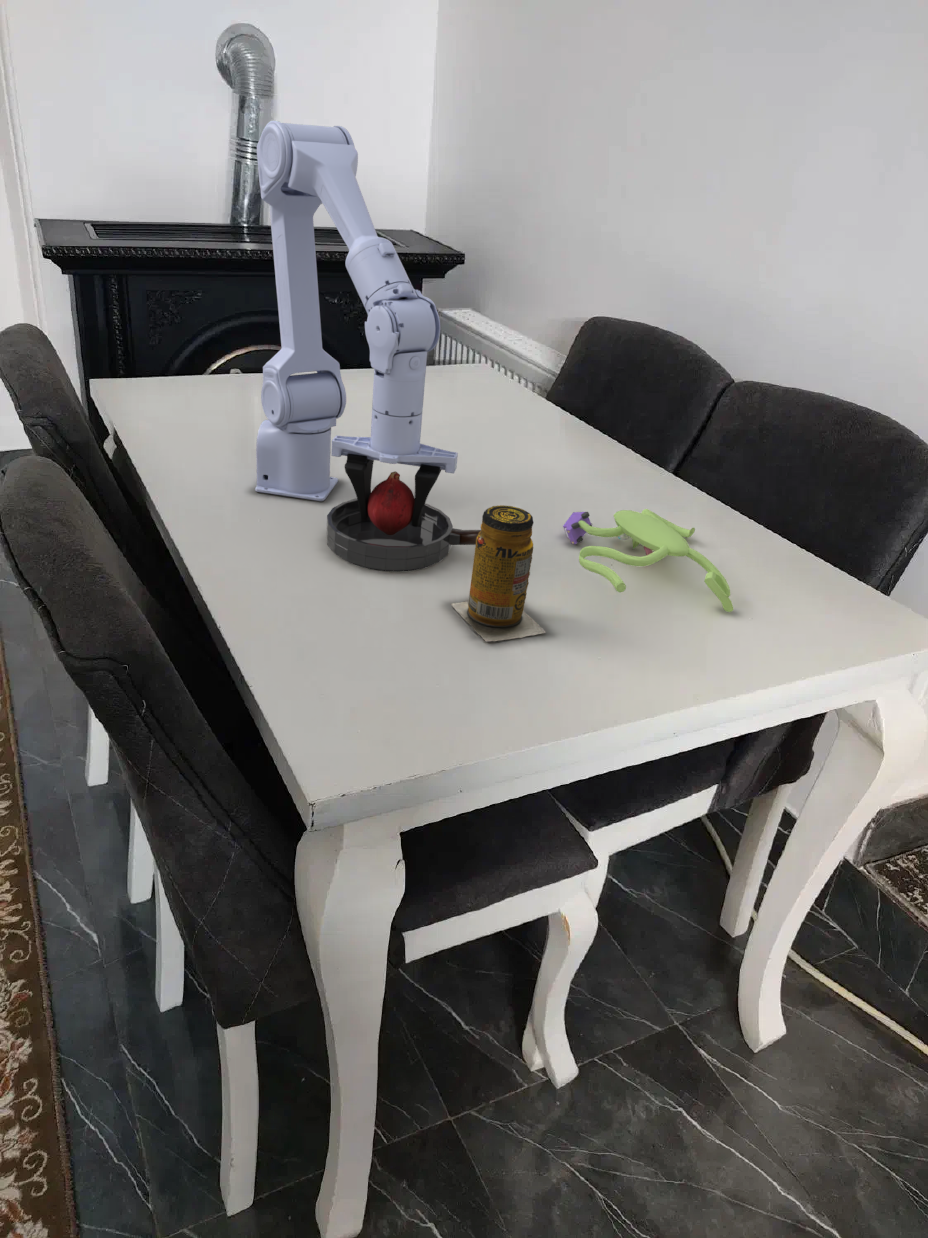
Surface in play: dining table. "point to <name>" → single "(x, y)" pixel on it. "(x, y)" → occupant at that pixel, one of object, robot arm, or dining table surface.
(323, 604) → the dining table surface
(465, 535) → the pan handle
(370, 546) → the pan
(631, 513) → the figurine
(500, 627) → the condiment
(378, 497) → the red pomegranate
